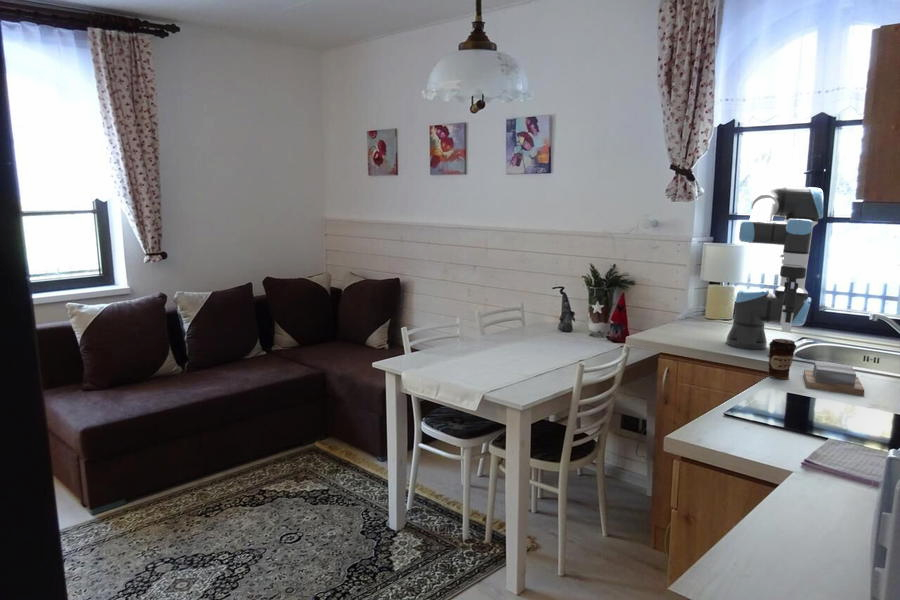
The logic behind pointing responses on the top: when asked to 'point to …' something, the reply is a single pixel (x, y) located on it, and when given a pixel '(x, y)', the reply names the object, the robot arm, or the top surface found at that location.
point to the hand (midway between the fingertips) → (785, 328)
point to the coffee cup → (780, 358)
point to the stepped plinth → (833, 386)
